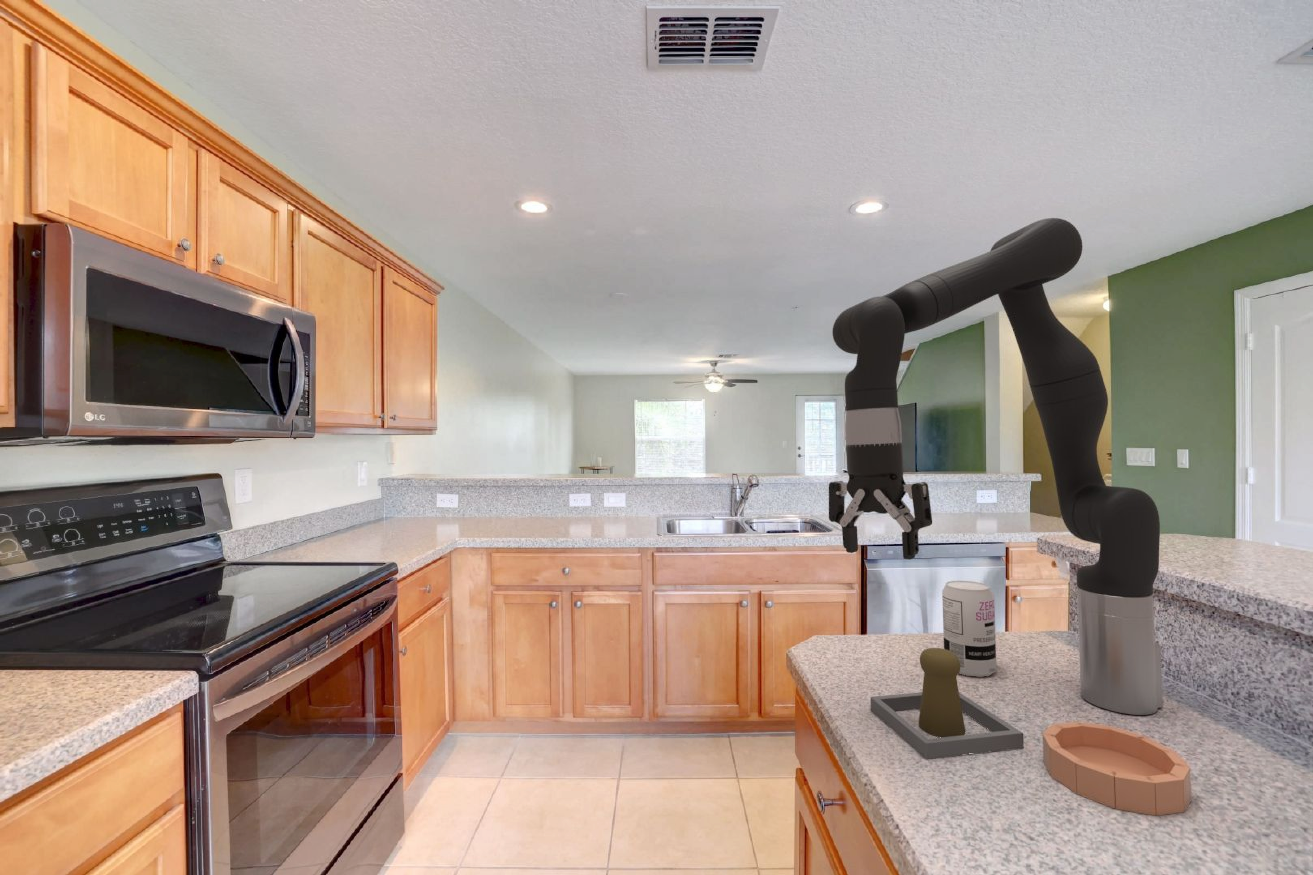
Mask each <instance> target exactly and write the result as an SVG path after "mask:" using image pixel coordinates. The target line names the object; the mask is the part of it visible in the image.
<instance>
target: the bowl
mask: <svg viewBox="0 0 1313 875" xmlns="http://www.w3.org/2000/svg"><path fill="white" fill-rule="evenodd" d="M1042 754H1043V755H1042V758H1043V763H1044V765H1045V767H1046V769H1047V771H1048V772H1049V775H1050V777H1052V778H1053V779H1055V780H1056V781H1057V782H1059V783H1060V784H1062V785H1063V786H1064V787H1066V788H1067V789H1069V790H1071V791H1072V792H1073V793H1075V794H1077V795H1079V796H1081V797H1083V798H1087V799H1089V800H1091V801H1094V802H1097V803H1100V804H1102V805H1104V806H1107V807H1110V808H1112V809H1116V810H1120V811H1126V812H1127V811H1128V812H1131V813H1132V812H1133V813H1139V814H1145V815H1148V816H1155V817H1156V816H1165V815H1173V814H1178V813H1180V814H1181V813H1185V812H1186V810H1187V808H1188V806H1189V805H1190V802H1191V800H1192V782H1191V781H1192V780H1191V778H1192V777H1191V767H1190V765H1189V764H1188V763H1187V762H1186V761H1185V760H1184V759H1183V757H1181V756H1180V755H1179V754H1178V753H1177V751H1175V750H1173V749H1172V748H1170V747H1168V746H1166V745H1163V744H1162V743H1160V742H1157V741H1156V740H1154V739H1152V738H1150V737H1148V736H1145V735H1144V734H1140V733H1139V734H1138V733H1136V732H1133V731H1132V732H1131V731H1130V730H1126V729H1122V728H1118V727H1116V726H1113V725H1112V726H1111V725H1107V724H1099V723H1091V722H1084V721H1069V722H1060V723H1059V722H1058V723H1052V724H1051V725H1050V726H1049V727H1048V728H1046V729H1045V730H1044V731H1043V732H1042Z"/></svg>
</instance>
